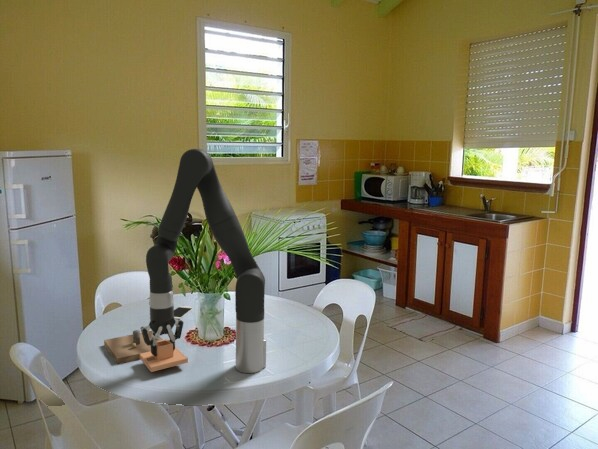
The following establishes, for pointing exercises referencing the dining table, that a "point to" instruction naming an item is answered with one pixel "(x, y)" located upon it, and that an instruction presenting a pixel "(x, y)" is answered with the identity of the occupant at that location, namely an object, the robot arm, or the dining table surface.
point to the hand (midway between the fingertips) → (163, 353)
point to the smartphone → (182, 311)
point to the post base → (128, 346)
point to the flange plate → (163, 356)
